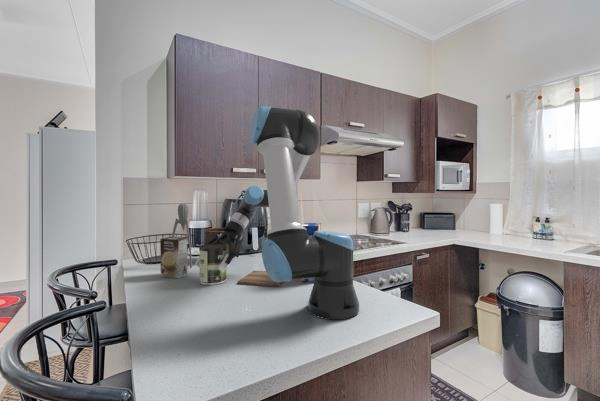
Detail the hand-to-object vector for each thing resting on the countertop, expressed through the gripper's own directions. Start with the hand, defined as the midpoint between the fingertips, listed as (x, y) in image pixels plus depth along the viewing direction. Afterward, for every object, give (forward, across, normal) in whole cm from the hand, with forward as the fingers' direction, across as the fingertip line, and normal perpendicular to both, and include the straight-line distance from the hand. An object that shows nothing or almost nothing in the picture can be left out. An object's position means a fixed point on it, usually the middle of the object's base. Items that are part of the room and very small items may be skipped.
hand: (208, 268), depth 116 cm
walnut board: (-7, -16, -15) cm, 22 cm away
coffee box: (+6, +20, -3) cm, 21 cm away
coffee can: (+3, 0, -6) cm, 6 cm away
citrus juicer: (-3, +30, -12) cm, 32 cm away
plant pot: (-16, +25, -24) cm, 38 cm away
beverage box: (-15, -30, -23) cm, 41 cm away
